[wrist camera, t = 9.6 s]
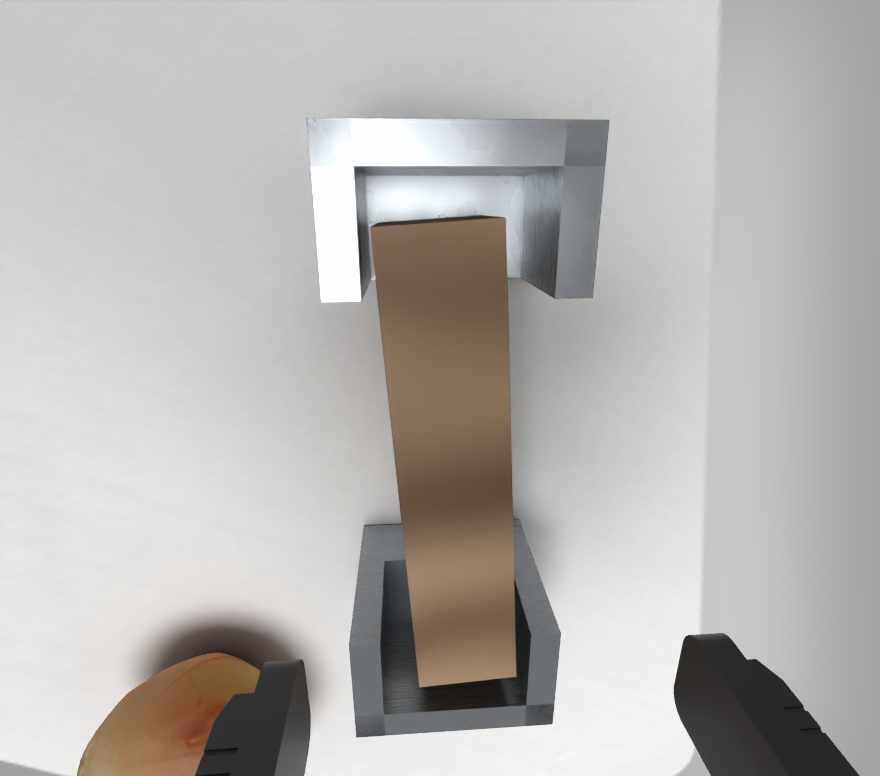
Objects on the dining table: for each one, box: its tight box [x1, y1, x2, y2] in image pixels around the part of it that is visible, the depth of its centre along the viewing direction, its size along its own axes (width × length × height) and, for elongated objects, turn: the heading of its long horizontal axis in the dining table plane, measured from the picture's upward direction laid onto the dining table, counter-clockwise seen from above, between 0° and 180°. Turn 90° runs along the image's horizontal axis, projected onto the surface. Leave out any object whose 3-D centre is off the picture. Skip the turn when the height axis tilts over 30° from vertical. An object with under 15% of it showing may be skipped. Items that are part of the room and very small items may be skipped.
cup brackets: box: [306, 118, 609, 737], centre depth 22 cm, size 23×8×8 cm, turn 0°
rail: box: [370, 215, 516, 687], centre depth 20 cm, size 18×4×5 cm, turn 4°
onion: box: [77, 652, 260, 776], centre depth 26 cm, size 10×10×10 cm
